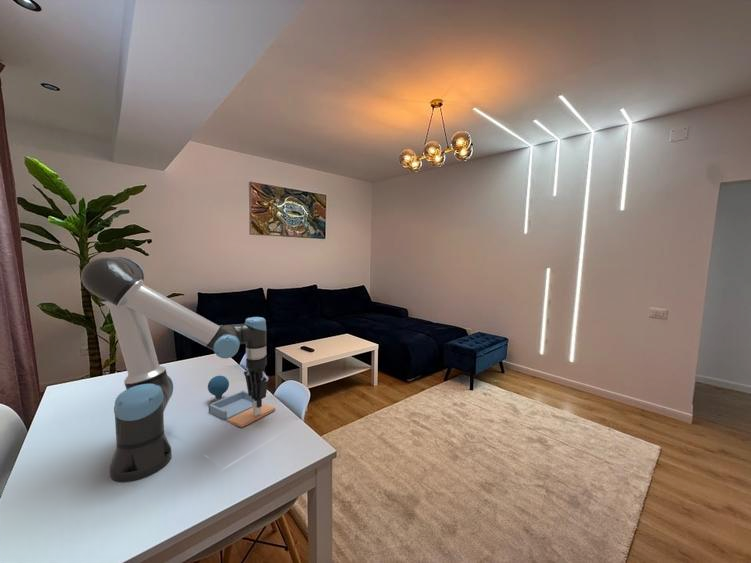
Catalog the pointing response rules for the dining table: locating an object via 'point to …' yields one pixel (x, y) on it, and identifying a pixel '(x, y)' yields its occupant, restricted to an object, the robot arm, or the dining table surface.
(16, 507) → the dining table surface
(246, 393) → the blue-grey shallow rectangular box
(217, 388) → the light bulb
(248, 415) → the panel
